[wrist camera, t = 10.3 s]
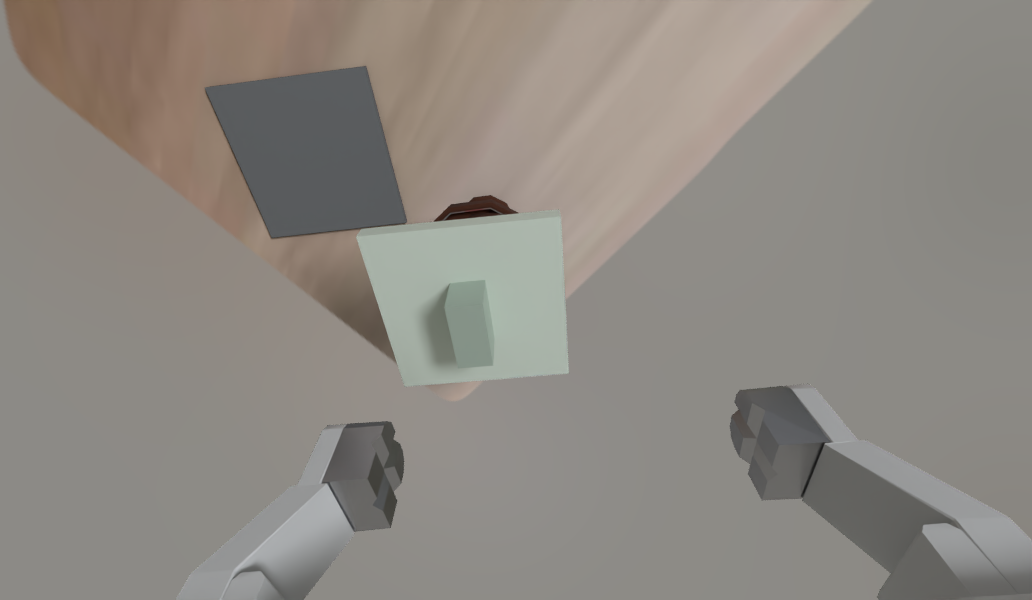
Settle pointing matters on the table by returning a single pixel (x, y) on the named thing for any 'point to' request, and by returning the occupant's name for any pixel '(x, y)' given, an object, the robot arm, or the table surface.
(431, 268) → the lid
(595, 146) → the table surface
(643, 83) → the table surface
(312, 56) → the table surface
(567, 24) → the table surface
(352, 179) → the mat
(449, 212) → the ice cream bowl
